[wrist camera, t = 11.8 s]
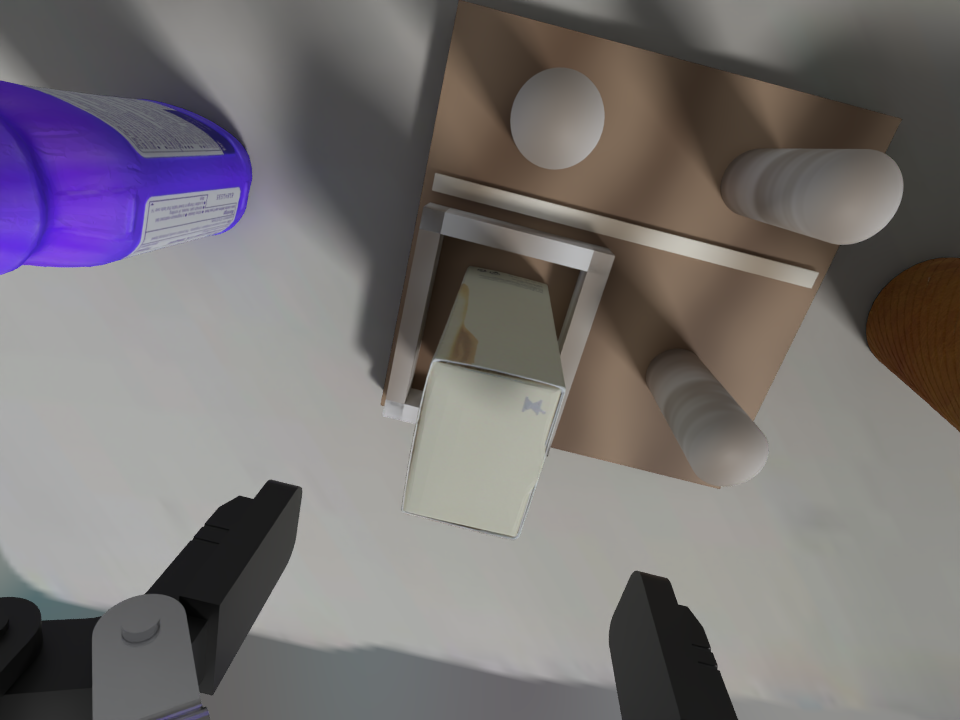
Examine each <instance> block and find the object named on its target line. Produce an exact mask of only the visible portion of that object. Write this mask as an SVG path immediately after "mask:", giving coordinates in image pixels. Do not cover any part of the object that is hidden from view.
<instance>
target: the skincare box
mask: <svg viewBox="0 0 960 720" xmlns="http://www.w3.org/2000/svg"><path fill="white" fill-rule="evenodd" d="M565 392H566V386H565V381H564V375H563V370H562V364H561V358H560V353H559V346H558V341H557V336H556V331H555V325H554V319H553V313H552V308H551V302H550V296H549V291H548V286H547V285H546V284H544V283H540V282H537V281H533V280H529V279H526V278H522V277H518V276H514V275H510V274H507V273H502V272H498V271H494V270H489V269H484V268H479V267H474V266H469V267H468V268H467V270H466V273H465V275H464V278H463V281H462V284H461V286H460V289H459V292H458V294H457V297H456V300H455V302H454V305H453V308H452V310H451V313H450V315H449V318H448V321H447V324H446V326H445V329H444V331H443V334H442V336H441V339H440V341H439V344H438V347H437V349H436V352H435V354H434V356H433V358H432V361H431V363H430V367H429V370H428V374H427V378H426V382H425V385H424V389H423V393H422V397H421V401H420V406H419V410H418V415H417V420H416V425H415V430H414V435H413V441H412V446H411V451H410V457H409V462H408V469H407V475H406V482H405V487H404V495H403V501H402V508H401V511H402V512H403V513H405V514H408V515H413V516H417V517H421V518H425V519H428V520H432V521H436V522H440V523H444V524H448V525H451V526H455V527H459V528H464V529H468V530H472V531H475V532H479V533H483V534H488V535H492V536H496V537H500V538H504V539H509V540H515V539H517V538H518V537H519V536H520V535H521V531H522V528H523V525H524V522H525V519H526V516H527V513H528V510H529V507H530V504H531V501H532V498H533V495H534V491H535V488H536V485H537V483H538V480H539V476H540V473H541V470H542V467H543V463H544V460H545V457H546V454H547V450H548V447H549V444H550V441H551V437H552V434H553V431H554V428H555V424H556V421H557V418H558V415H559V412H560V408H561V405H562V402H563V399H564V396H565Z"/></svg>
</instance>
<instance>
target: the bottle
mask: <svg viewBox="0 0 960 720" xmlns="http://www.w3.org/2000/svg"><path fill="white" fill-rule="evenodd" d="M251 181H252V167H251V162H250V158H249V155H248V153H247V151H246V150H245V148H244V147H243V146H242V144H241V143H240V142H239V141H238V140H237V139H236V138H235V137H234V136H233V135H231V134H230V133H229V132H227V131H226V130H224V129H223V128H221V127H220V126H218V125H217V124H215V123H213V122H212V121H210V120H208V119H206V118H204V117H202V116H200V115H198V114H195V113H193V112H190V111H188V110H185V109H183V108H179V107H176V106H173V105H170V104H166V103H162V102H158V101H153V100H147V99H131V98H123V97H114V96H104V95H95V94H87V93H79V92H71V91H64V90H56V89H48V88H40V87H33V86H25V85H19V84H14V83H10V82H5V81H0V275H2V274H5V273H7V272H10V271H13V270H15V269H17V268H18V267H20V266H21V265H34V266H44V267H92V266H98V265H104V264H107V263H111V262H114V261H117V260H121V259H125V258H128V257H132V256H135V255H139V254H143V253H147V252H151V251H154V250H158V249H162V248H165V247H169V246H173V245H176V244H180V243H184V242H188V241H192V240H195V239H199V238H203V237H207V236H210V235H217V234H221V233H223V232H226V231H227V230H229V229H231V228H232V227H233V226H234V225H235V224H236V223H237V222H238V221H239V220H240V218H241V217H242V215H243V214H244V212H245V209H246V205H247V200H248V194H249V190H250V185H251Z"/></svg>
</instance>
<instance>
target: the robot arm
mask: <svg viewBox="0 0 960 720" xmlns="http://www.w3.org/2000/svg"><path fill="white" fill-rule="evenodd" d="M301 498H302V488H301V487H299V486H295V485H291V484H287V483H283V482H279V481H275V480H268V481H267V482H266V484H265V485H264V486H263V487H262V489H261V490H260V491H259V493H258V494H257V495H256V496H255V498H254V499H251V498H247V497H243V496H238V497H236V498H234V499H233V500H231V501H229V502H227V503H226V504H224V505H222V506H220V507H219V508H218V509H217V510H216V511H215V512H214V514H213V515H212V516H211V517H210V518H209V519H208V521H207V522H206V523H205V526H204V527H202V528H201V529H200V530H199V531H198V532H197V534H196V535H195V536H194V538H193V540H192V541H190V542H189V543H188V544H187V545H186V547H185V548H184V549H183V550H182V551H181V552H180V554H179V555H178V556H177V557H176V558H175V560H174V561H173V562H172V563H171V564H170V565H169V567H168V568H167V569H166V570H165V571H164V572H163V574H162V575H161V576H160V577H159V578H158V580H157V581H156V582H155V583H154V584H153V585H152V587H151V588H150V589H149V590H148V591H147V592H146V593H145V594H144V595H139V596H135V597H132V598H129V599H127V600H124V601H122V602H120V603H118V604H117V605H115V606H113V607H112V608H111V609H109V610H108V611H107V612H106V613H105V614H104V615H103V616H101V617H96V618H88V619H67V620H46V621H41V613H40V610H39V609H38V607H37V606H36V605H35V604H34V603H33V602H31V601H29V600H26V599H22V598H16V597H2V598H0V720H210V716H209V713H208V710H207V708H206V707H202V703H201V699H200V693H205V694H209V695H213V694H214V692H215V690H216V689H217V687H218V685H219V684H220V682H221V680H222V678H223V677H224V675H225V673H226V671H227V669H228V668H229V666H230V664H231V662H232V661H233V659H234V657H235V655H236V654H237V652H238V650H239V648H240V646H241V645H242V643H243V641H244V639H245V638H246V636H247V634H248V632H249V631H250V629H251V627H252V625H253V624H254V622H255V620H256V618H257V617H258V615H259V613H260V611H261V610H262V608H263V606H264V604H265V603H266V601H267V599H268V597H269V596H270V594H271V592H272V590H273V588H274V587H275V585H276V583H277V581H278V580H279V578H280V576H281V574H282V573H283V571H284V569H285V567H286V565H287V563H288V561H289V559H290V557H291V554H292V551H293V548H294V544H295V540H296V534H297V527H298V520H299V512H300V505H301ZM609 647H610V653H611V659H612V664H613V670H614V676H615V682H616V687H617V693H618V699H619V704H620V710H621V715H622V720H738V719H737V716H736V713H735V711H734V708H733V705H732V703H731V700H730V697H729V695H728V692H727V689H726V687H725V684H724V681H723V679H722V676H721V673H720V671H719V670H717V667H718V666H717V663H716V660H715V658H714V655H713V653H711V647H710V644H709V642H708V639H707V636H706V634H705V631H704V628H703V627H702V625H701V624H700V623H699V621H698V620H697V619H696V617H695V616H694V615H693V613H692V612H691V611H690V609H689V608H688V607H686V606H682V605H678V603H677V600H676V597H675V594H674V591H673V588H672V585H671V583H670V581H669V580H668V579H667V578H664V577H660V576H656V575H652V574H648V573H644V572H640V571H634V572H633V573H632V575H631V577H630V579H629V581H628V583H627V585H626V588H625V590H624V592H623V594H622V597H621V599H620V601H619V603H618V605H617V608H616V610H615V612H614V614H613V617H612V620H611V624H610V630H609ZM199 692H200V693H199Z"/></svg>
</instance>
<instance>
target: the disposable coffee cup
mask: <svg viewBox="0 0 960 720" xmlns="http://www.w3.org/2000/svg"><path fill="white" fill-rule="evenodd" d="M866 335H867V341H868V345H869V347H870V350H871V352H872V353H873V354H874V356H875V357H876V358H877V359H878V360H879V361H880V362H881V363H882V364H884V365H885V366H886V367H887V368H888V369H889V370H890V371H891V372H893V373H894V374H895V375H896V376H897V377H898V378H900V379H901V380H902V381H903V382H904V383H905V384H906V385H908V386H909V387H910V388H911V389H912V390H913V391H914V392H916V393H917V394H918V395H919V396H920V397H921V398H922V399H924V400H925V401H926V402H927V403H928V404H929V405H930V406H931V407H932V408H933V409H934V410H936V411H937V412H938V413H939V414H940V415H941V416H942V417H944V418H945V419H946V420H947V421H948V422H949V423H950V424H951V425H953V426H954V427H955V428H956V429H957V430H958V431H959V432H960V258H937V259H932V260H928V261H925V262H922V263H919V264H916V265H914V266H913V267H911V268H909V269H907V270H905V271H903V272H902V273H901V274H899V275H898V276H897V277H895V278H894V279H892V280H891V281H890V282H889V283H888V285H887V286H886V287H885V288H884V289H883V290H882V291H881V292H880V294H879V295H878V297H877V298H876V299H875V301H874V303H873V306H872V308H871V310H870V312H869V316H868V320H867V325H866Z"/></svg>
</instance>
